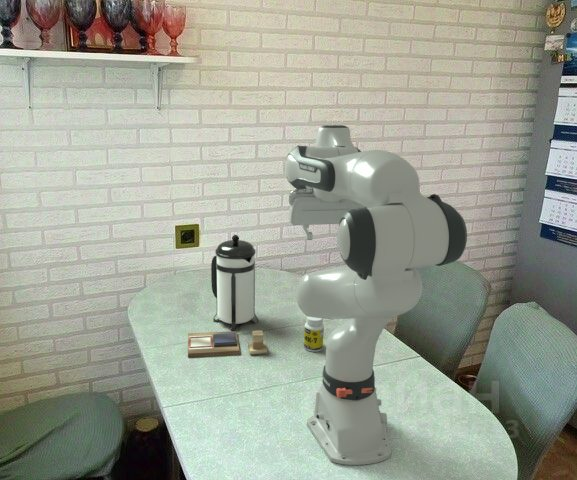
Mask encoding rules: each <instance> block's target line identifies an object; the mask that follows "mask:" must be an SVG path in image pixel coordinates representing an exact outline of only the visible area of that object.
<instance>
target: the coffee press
mask: <svg viewBox="0 0 577 480" xmlns="http://www.w3.org/2000/svg"><path fill="white" fill-rule="evenodd" d="M214 253H215V255H214V256H213V258H212V260H211V264H210V265H211V266H210V267H211V268H210V269H211V271H210V272H211V273H210V274H211V276H210V278H211V281H210V283H211V290H212V294H213V296H214V298H215V299H216V314H214V316H213V322H218V321H221V322H223V323H226V324H231V327H230V330H231V331H237V330H236V329H237V328H236V327H237V325H239V324H245V323H247V322H249V321H251V322H253V323H254V324H255V323H256V324H257V323H258V322H259V317H258V316H257V315H256V313H255V312H256V311H255V310H256V308H255V307H256V306H255V304H256V302H255V301H256V299H255V298H256V297H255V296H256V287H255V286H256V261H255V255H256V249H255V247H254V245H253V244H252V243H251V242H249V241H246V240H240V236H238V235H237V234H233V235H232V237H231V240H226V241H223V242H220V244H218V246H217V247H216V249H215V251H214ZM216 316H217V319H215V318H216ZM253 317H254V318H255V319H256V320H255V319H253Z"/></svg>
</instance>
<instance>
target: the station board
mask: <svg viewBox="0 0 577 480" xmlns="http://www.w3.org/2000/svg"><path fill="white" fill-rule="evenodd" d="M240 353H241V351H240V345H239V340H238V333H237V330H235V331H232V330H231V331H212V332H211V331H209V332H190V333H187V357H188V358H198V357H213V356H215V357H216V356H217V357H219V356H230V355H231V356H234V355H240Z"/></svg>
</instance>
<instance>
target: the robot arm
mask: <svg viewBox="0 0 577 480" xmlns="http://www.w3.org/2000/svg"><path fill="white" fill-rule="evenodd" d="M351 137H352V136H351V129H350V127H349V126H346V125H342V124H340V125H338V124H335V125H334V124H332V125H331V124H330V125H329V124H325V125H322V126H319V128H318V129H317V133H316V138H315V145H314V146H313V145H312V146H308V145H296V146H294V148H293V149H291V150H290V151H289V152H288V154H287V156H286V159H285V166H284V167H285V174H286V179H287V182H288V183H289V184H290V185H291V186H292V187H293V188H295V190H292V191H291V192H290V193H289V195H288V203H289V213H288V221H289V222H290V223H291V225H292V226H302V228H303V230H304V233H305V240H306V241H312V240H313V237H314V235H313V232H312V231H309V230H308V229H309V227H310V226H315V225H316V226H317V225H338V230H337V235H336V241H337V246H338V247H337V248H338V251H339V254H340V257H341V259H342V261H343V262H344V264H345V266H338V267H332V268H327V269H321V270H316V271H312V272H308V273H305V274H303V276H302V277H301V278H300V280H299V281H298V283H297V287H296V290H295V291H296V292H295V295H296V302H297V305H298V307H299V309H300V310H301V313H303V314H304V315H305V316H306V317H307V316H308V317H315V318H322V319H323V320H345V319H346V322H344V323H343V324H341V325H339V326H338V327H336V328H334V329H333V330H332V331H331V333H330V334H329V335H328V337H327V339H326V344H325V362H324V363H325V364H324V365H323V367H322V368H323V369H322V370H323V371H322V375H321V377H322V384H321V386H320V387H319V388H318V390H317V391H316V392H315V397H314V406H313V407H314V408H313V415H312V416H310V417H309V418H308V419H307V421H306V426H307V427H308V429H309V430H310V432H311V433H312V435H313V436H314V438H315V439H316V441H317V442H318V444H319V445H320V447H321V449H322V450H323V452H324V454H326V456H327V458H328V459H329V460H330V462H333V463H335V464H339V465H346V466H348V465H349V466H356V465H357V466H359V465H368V464H369V465H370V464H375V463H376V464H377V463H379V462H383V461H385V460H387V459H389V458H390V457H392V450H391V445H390V439H389V435H388V431H387V426H386V424H387V423H388V415H387V413H386V412H381V410H380V408H379V406H382V399H378V395H377V387H376V385H375V383H376V376H375V370H374V362H375V361H374V360H375V354H376V353H375V352H376V346H377V343H378V340H379V338H380V336H381V334H382V332H383V331H384V329H385V328H386V326H387V325H388V324H389V323H390V321H392V319H393V318H395V317H398V316H401V315H403V314H405V313H407V312H409V311H411V310H412V309H413V308H414V307H416V306H417V304H418V303H419V301H420V299H421V297H422V294H423V281H422V278H421V276H420V273H419V272H418V270H417V269H419V268H420V269H421V268H427V267H431V266H438V267H440V266H445V265H448V264H451V263H454V262H456V261H458V260H460V258H461V257H462V255H463V254H464V251H466V246H467V241H468V231H467V226H466V222H465V220H464V217H463V216H462V215H461V213H460V212H459V211H458V210H457V209H456V208H455V207H454V206H452V205H451V204H449V203H447V202H444V201H442V199H441V197H440V195H438V194H436V193H432V194H430V195H429V196H425V195H423V194H422V193H421V191H420V178H419V175H418V172H417V170H416V169H415V167H414V166H413V165H412V164H411V163H410V162H408V160H406V159H405V158H403V157H402V156H399V155H398V154H396V153H393V152H391V151H386V150H380V149H373V150H372V149H371V150H364V151H363V150H362V151H361V149H359V148H358V147H356V146H354V144H353V142H352V139H351Z"/></svg>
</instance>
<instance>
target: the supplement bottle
mask: <svg viewBox="0 0 577 480" xmlns="http://www.w3.org/2000/svg"><path fill="white" fill-rule="evenodd" d="M305 321H306V322H305V323H304V331H303V332H304V334H303V348H304V350H306V351H308V352H311V353H315V352H316V353H317V352H321V350H323V348H324V332H325V325H324V323H323V322H324V319H322V318H315V317H308V316H306V319H305Z"/></svg>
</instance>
